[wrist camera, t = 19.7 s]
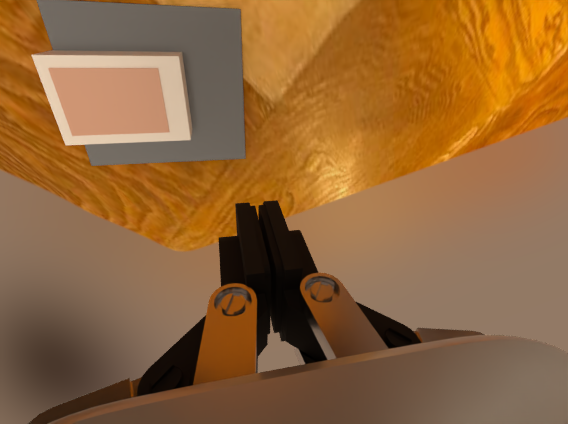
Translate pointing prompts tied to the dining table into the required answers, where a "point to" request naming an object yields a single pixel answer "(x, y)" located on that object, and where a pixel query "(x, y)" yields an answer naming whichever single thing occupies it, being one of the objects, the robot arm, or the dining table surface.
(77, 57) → the slab
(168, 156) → the mat
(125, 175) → the dining table surface
